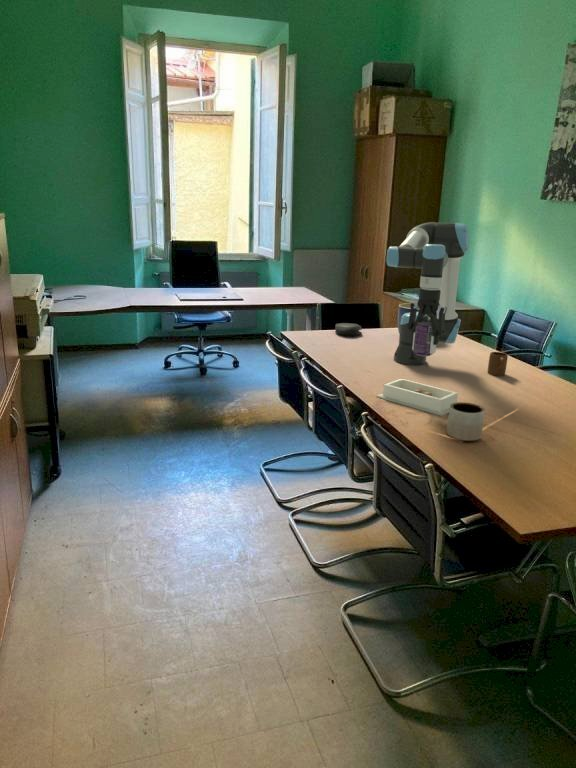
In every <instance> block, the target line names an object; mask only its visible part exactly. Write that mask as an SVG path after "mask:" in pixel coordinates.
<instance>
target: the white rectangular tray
mask: <svg viewBox="0 0 576 768" xmlns="http://www.w3.org/2000/svg"><path fill="white" fill-rule="evenodd" d="M458 396H459V393H458V392H457V391H456V392H455V391H451V390H448V389H445V388H440V387H436V386H432V385H428V384H425V383H421V382H416V381H413V380H408V379H404V378H400V379H395V380H392V381H390V382H388V383H384V384H383V390H382V393H379V394H377V395H375V397H376V398H377V399H378V398H379V399H382V400H386V401H387V402H388V401H389V402H391V403H395V404H399V405H402V406H406V407H409V408H413V409H416V410H420V411H423V412H427V413H429V414H430V413H431V414H433V415H438V416H440V417H443V416H445V415H447V414H449V410H450V405H451V404H453V403H458V402H457V401H458Z"/></svg>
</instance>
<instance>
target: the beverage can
mask: <svg viewBox="0 0 576 768" xmlns="http://www.w3.org/2000/svg"><path fill="white" fill-rule="evenodd" d="M433 335H434V334H433V329H432V324H431V322H424V321H422V322H417V326H416V329H415V339H414V349H413V353H415V354H416V355H418V356H424V357H425V356H426V357H430V356H431V355H433V354H430V345H431V336H433Z"/></svg>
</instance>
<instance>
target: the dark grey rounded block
mask: <svg viewBox="0 0 576 768" xmlns="http://www.w3.org/2000/svg"><path fill="white" fill-rule="evenodd" d="M334 328H335V332H334V333H335V334H336V335H337V336H340V337H344V338H356V337H359V336H360V331H362V329H363V328H362V326H361V325H359V324H357V323H348V322H341V323H336V324H335V327H334Z"/></svg>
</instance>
